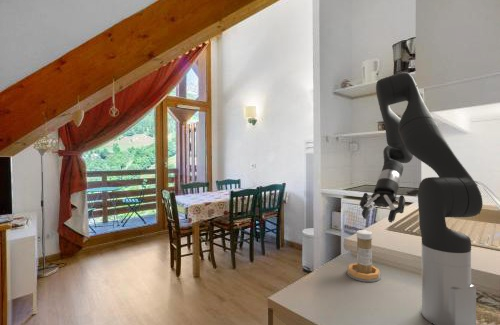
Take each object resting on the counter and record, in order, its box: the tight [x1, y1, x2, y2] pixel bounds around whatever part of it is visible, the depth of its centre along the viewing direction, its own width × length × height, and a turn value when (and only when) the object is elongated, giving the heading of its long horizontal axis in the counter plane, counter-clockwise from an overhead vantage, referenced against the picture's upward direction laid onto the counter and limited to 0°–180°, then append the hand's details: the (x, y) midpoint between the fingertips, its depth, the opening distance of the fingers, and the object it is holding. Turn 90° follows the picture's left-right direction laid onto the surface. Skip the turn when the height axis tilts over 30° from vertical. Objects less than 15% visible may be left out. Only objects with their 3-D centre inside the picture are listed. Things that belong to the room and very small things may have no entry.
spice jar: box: [356, 229, 373, 274], centre depth 85 cm, size 5×5×14 cm
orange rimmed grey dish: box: [346, 262, 382, 283], centre depth 85 cm, size 10×10×2 cm
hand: (376, 219), depth 92 cm, fingers open, 8 cm apart
